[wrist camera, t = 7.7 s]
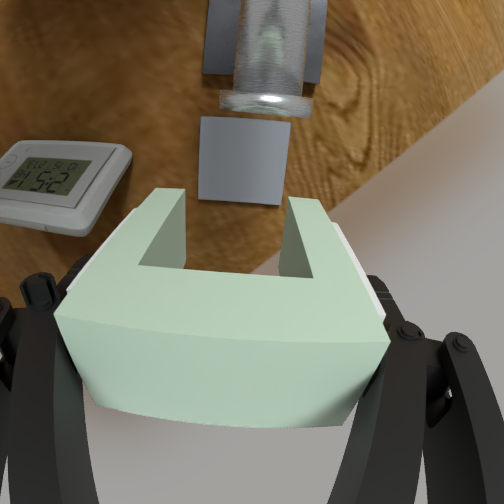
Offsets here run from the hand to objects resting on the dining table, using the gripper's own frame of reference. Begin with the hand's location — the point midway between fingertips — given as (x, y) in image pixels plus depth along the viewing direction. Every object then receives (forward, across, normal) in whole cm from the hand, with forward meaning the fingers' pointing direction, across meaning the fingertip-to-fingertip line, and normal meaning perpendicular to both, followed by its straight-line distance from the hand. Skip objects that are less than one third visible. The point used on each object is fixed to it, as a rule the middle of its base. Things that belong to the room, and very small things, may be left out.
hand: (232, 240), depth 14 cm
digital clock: (+16, -19, 0) cm, 25 cm away
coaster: (+16, 0, 0) cm, 16 cm away
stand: (+16, +1, +13) cm, 21 cm away
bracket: (+1, 0, 0) cm, 1 cm away
